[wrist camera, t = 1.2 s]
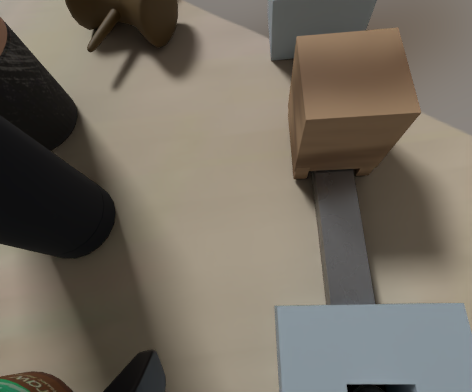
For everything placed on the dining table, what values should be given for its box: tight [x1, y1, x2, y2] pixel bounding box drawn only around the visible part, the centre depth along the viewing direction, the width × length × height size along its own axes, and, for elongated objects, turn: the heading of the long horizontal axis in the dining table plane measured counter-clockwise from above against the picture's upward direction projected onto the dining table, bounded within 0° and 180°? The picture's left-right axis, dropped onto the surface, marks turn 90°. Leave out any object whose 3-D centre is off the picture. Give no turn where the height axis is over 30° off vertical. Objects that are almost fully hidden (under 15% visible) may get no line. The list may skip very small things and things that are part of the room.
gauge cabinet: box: [275, 303, 472, 392], centre depth 17 cm, size 8×10×4 cm
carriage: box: [288, 28, 421, 179], centre depth 21 cm, size 6×6×8 cm
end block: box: [268, 0, 377, 60], centre depth 26 cm, size 6×8×6 cm
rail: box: [311, 169, 375, 305], centre depth 24 cm, size 22×3×2 cm, turn 1°
